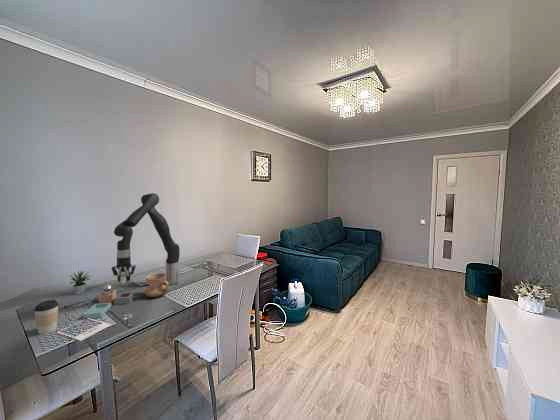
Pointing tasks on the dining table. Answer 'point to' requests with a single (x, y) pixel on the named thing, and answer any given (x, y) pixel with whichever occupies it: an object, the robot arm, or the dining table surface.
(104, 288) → the cell grey
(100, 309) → the trough
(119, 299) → the checker cradle
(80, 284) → the house plant
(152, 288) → the ceramic jug
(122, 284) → the cell green
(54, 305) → the coffee cup
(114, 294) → the cup
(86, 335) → the photo frame
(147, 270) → the dining table surface
